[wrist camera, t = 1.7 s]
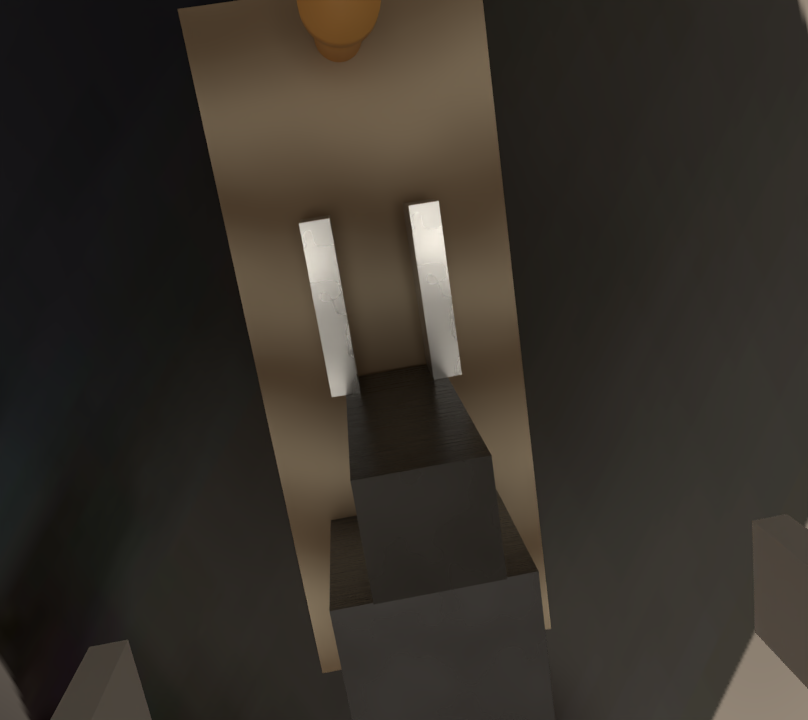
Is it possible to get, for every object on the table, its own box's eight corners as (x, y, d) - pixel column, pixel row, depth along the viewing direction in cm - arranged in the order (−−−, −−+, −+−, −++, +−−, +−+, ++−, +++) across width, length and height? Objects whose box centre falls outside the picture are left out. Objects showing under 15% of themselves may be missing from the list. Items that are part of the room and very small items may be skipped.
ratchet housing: (330, 520, 28) (329, 611, 22) (496, 489, 28) (538, 571, 22) (355, 646, 29) (361, 761, 23) (512, 615, 30) (555, 722, 24)
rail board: (186, 18, 24) (177, 8, 22) (470, -22, 24) (478, -34, 23) (323, 649, 31) (322, 672, 29) (541, 607, 31) (551, 628, 30)
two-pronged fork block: (301, 219, 24) (282, 244, 16) (430, 198, 24) (482, 211, 16) (385, 663, 29) (406, 868, 21) (491, 642, 30) (556, 837, 21)
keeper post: (299, 5, 23) (288, -44, 18) (365, -5, 23) (373, -56, 18) (311, 76, 23) (304, 48, 18) (375, 66, 23) (386, 36, 18)
